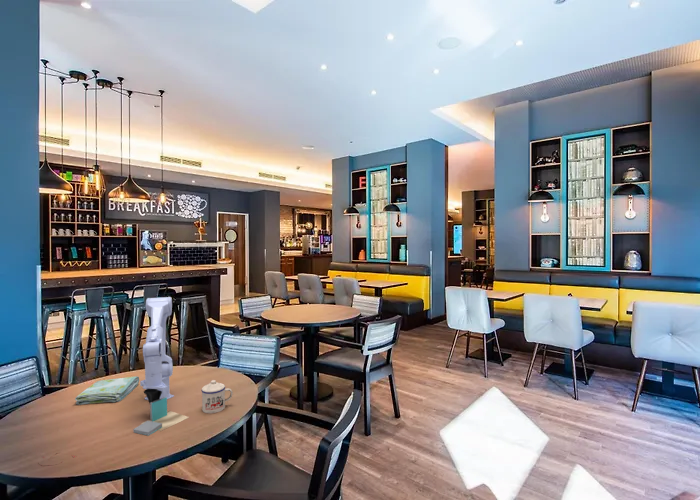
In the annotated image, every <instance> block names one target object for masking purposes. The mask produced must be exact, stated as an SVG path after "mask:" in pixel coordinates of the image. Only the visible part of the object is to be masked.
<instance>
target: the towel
mask: <svg viewBox="0 0 700 500" xmlns="http://www.w3.org/2000/svg"><path fill="white" fill-rule="evenodd" d="M139 383H140V378H139V376H138V375H137V376H128V377H127V376H126V377H121V378H120V377H119V378H111V379H110V378H108V379H104V380H97V381H95V382H94V383H92V384H91V385H90V386H88V387H87V388H86V389H84V390H83V391H82V392H81V393H79V394H77V396H76V397H75V398H74V400H75V401H76V402H75V404H76V405H80V406H81V405H90V404H100V403H116V402H117V403H118V402H121V401H122V400H124V399H125V398H126V397H127V396H128V395H129V394H130V393H131V392H133V391H134V390H135V389H136V387H138V384H139Z"/></svg>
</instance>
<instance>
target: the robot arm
mask: <svg viewBox="0 0 700 500" xmlns="http://www.w3.org/2000/svg"><path fill="white" fill-rule="evenodd" d="M172 308H173V299H172V297H171V296H168V297H167V296H164V297H147V298H146V300H145V310H146V314H147V315H148V317H150V326H149V327H148V328H147V331H146V337H145V343H143V346H142V356H143V362H144V379H143V380H139V383H140V384H139V385H140V387H142V389H144V390H143V393H144V394H145V396H146V397H144V400H146V401H148V402H149V403H148V404H150V403H151V402H153V401H155V400H158V399H160V398H163V397H167V400H169V399H172V398H173V397H175V394H171V393H170V377H171V376H173V373H174V372H173V369H174V366H173V359H172V357H171V356H169V355H168V354H166V344H167V343H166V342H167V341H166V335H167V333H166V331H167V329H166V328H167V327H166V326H167V325H166V324H167V320H168V317H169V316H171V315H172V313H173V311H172V310H173V309H172Z"/></svg>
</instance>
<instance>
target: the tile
mask: <svg viewBox="0 0 700 500" xmlns="http://www.w3.org/2000/svg"><path fill="white" fill-rule="evenodd" d="M167 412H168V399H167V397H163V398H160V399H158V400H155V401H153V402H151V403H149V414H150V415H149V416H150V419H149V420H150V421H152V422H153V421H155V420H158V419H160V418H162V417H164V416H167Z"/></svg>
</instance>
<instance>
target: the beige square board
mask: <svg viewBox="0 0 700 500" xmlns="http://www.w3.org/2000/svg"><path fill="white" fill-rule="evenodd" d="M189 418H190V416H186V415H184V414H181V413H178V412H175V411H172V410H167V416H164V417H162V418H160V419H158V420H155V421H153V422H157V423H162V428H160V429H159V430H157V431H158V432H162V431H165V430H166V429H169V428H170V427H173V426H175V425H177V424H179V423H180V422H182V421H185V420H187V419H189ZM146 421H150V419H147V420H145V421H143V422H141V423H140V425H141V424H143V423H144V422H146Z"/></svg>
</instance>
